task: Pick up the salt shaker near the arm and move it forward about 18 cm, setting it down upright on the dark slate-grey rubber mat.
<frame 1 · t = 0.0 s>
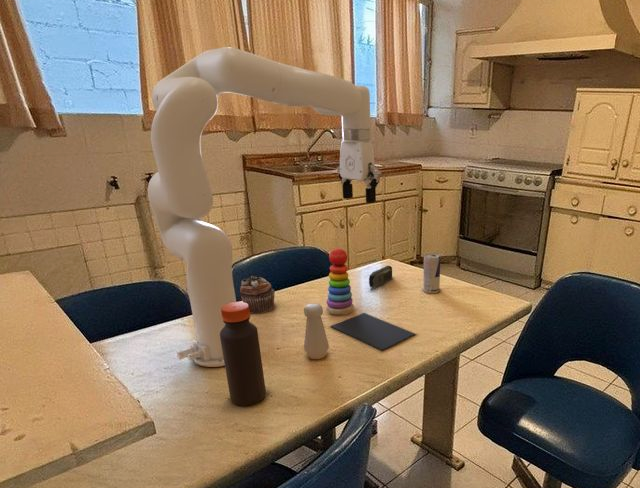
hand: (359, 200, 129), 31 cm above the table, tool pointing down, fingers open, 9 cm apart
cupcake: (259, 308, 135), on the table
mobile phone: (380, 284, 156), on the table
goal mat: (372, 331, 121), on the table
bottle: (248, 397, 93), on the table
energy drink: (431, 291, 150), on the table
stacking toy: (340, 311, 134), on the table
salt shaker: (317, 356, 109), on the table
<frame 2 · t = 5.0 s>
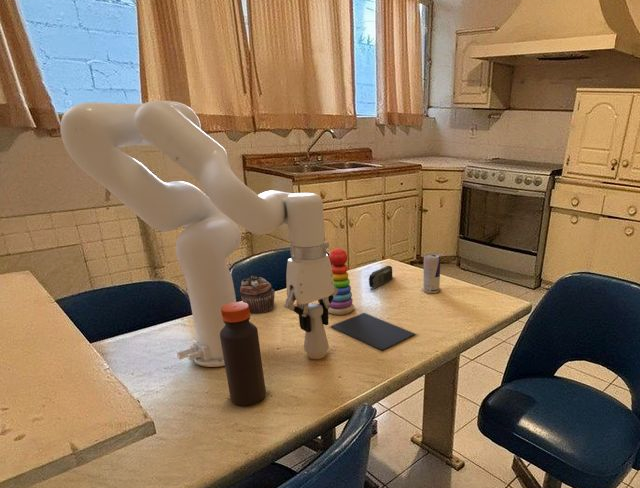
hand: (314, 326, 106), 8 cm above the table, tool pointing down, fingers closed on salt shaker, 4 cm apart
salt shaker: (317, 356, 109), on the table, touching gripper
everything else where it was.
when the fingers open (8 cm above the table, at t = 11.3 s): salt shaker stays where it is, resting on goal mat.
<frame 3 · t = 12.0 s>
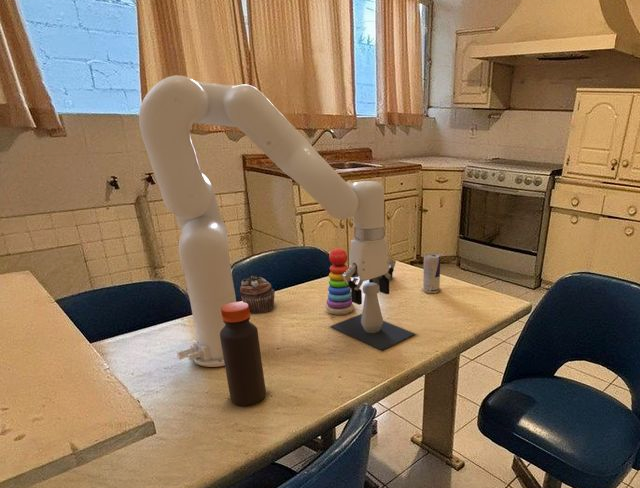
hand: (371, 297, 118), 10 cm above the table, tool pointing down, fingers open, 9 cm apart
salt shaker: (372, 330, 121), resting on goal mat
everything else where it was.
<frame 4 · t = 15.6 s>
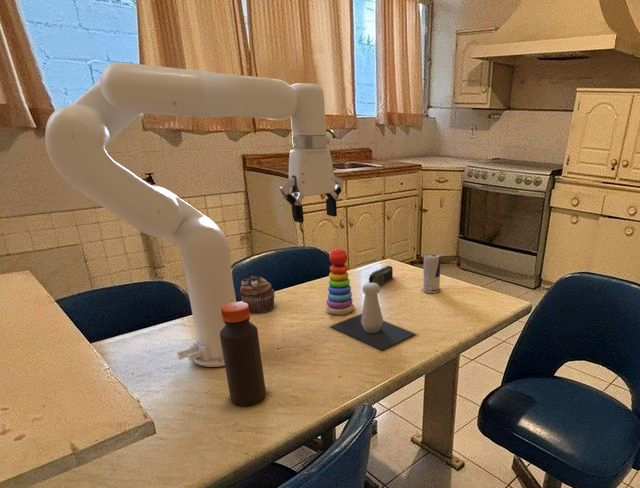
hand: (315, 218, 109), 30 cm above the table, tool pointing down, fingers open, 9 cm apart
nothing on the table moved.
at the end: salt shaker inside the target area on the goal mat (0.0 cm from its centre), point 0.2 cm above the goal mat's base; salt shaker tilted 0°; salt shaker moved 18.0 cm from its start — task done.
